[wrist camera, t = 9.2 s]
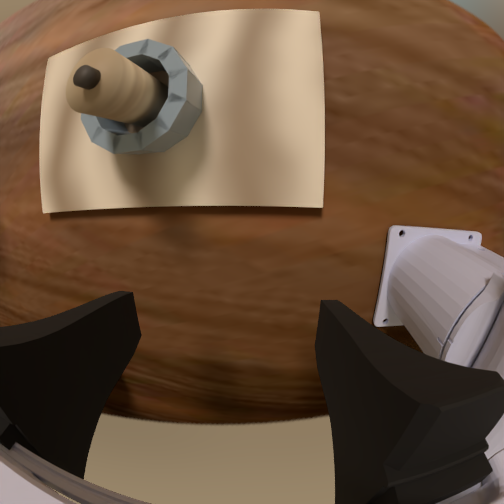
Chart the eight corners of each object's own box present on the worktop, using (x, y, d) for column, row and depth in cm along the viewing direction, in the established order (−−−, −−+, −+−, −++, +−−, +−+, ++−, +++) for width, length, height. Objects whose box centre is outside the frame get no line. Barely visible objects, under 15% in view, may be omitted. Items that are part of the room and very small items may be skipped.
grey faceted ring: (204, 52, 14) (190, 30, 11) (201, 149, 16) (186, 146, 13) (113, 69, 15) (86, 56, 11) (108, 158, 17) (79, 159, 14)
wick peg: (175, 80, 15) (116, 33, 7) (175, 125, 16) (110, 100, 8) (132, 88, 15) (59, 56, 8) (131, 131, 16) (52, 119, 9)
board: (317, 16, 14) (319, 11, 13) (320, 205, 18) (322, 207, 17) (53, 60, 15) (48, 58, 14) (48, 211, 19) (42, 213, 18)
